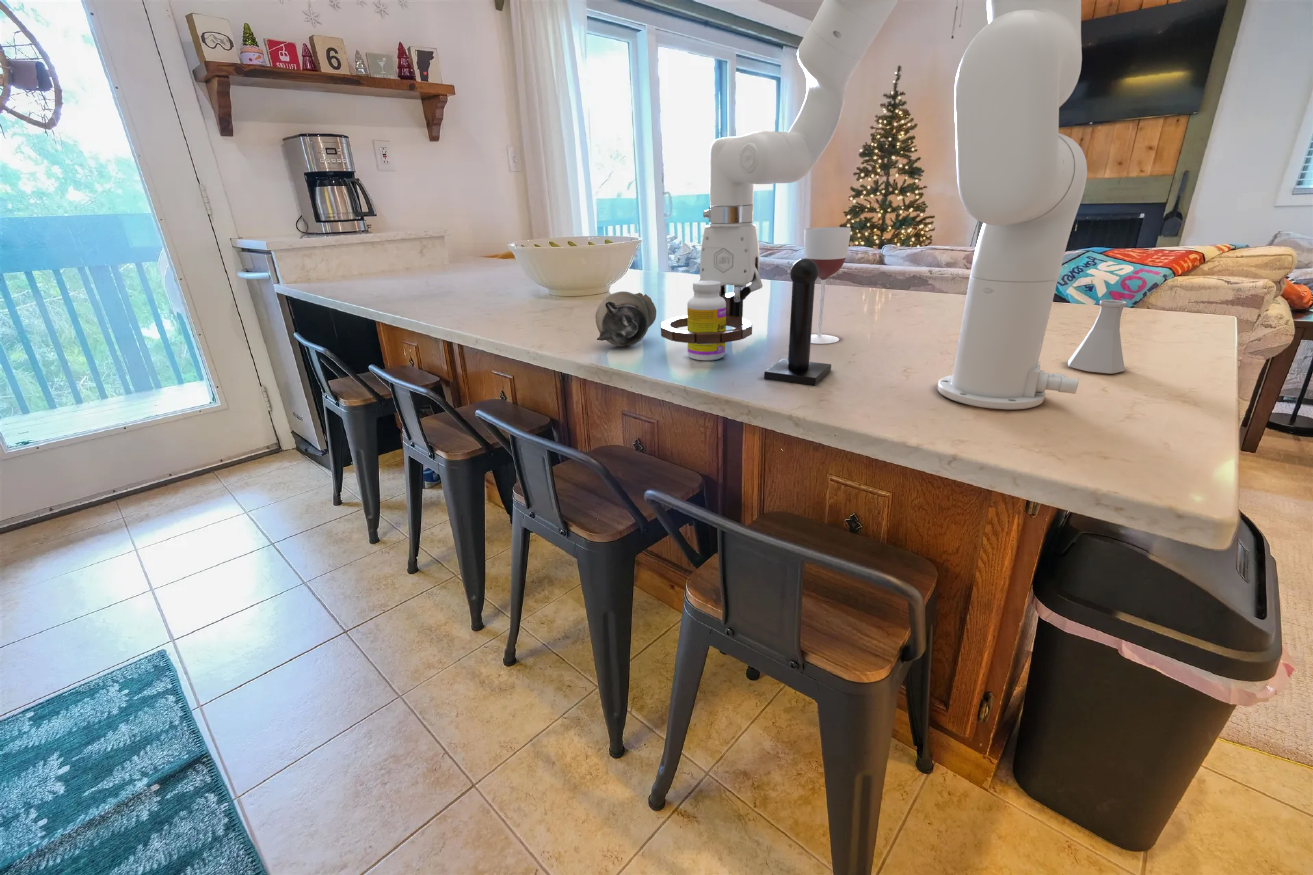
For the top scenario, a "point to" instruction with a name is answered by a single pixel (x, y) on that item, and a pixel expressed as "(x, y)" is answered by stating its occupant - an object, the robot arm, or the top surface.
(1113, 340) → the flask
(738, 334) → the walnut ring
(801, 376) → the towel holder
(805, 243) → the wineglass
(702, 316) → the supplement bottle
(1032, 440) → the top surface
